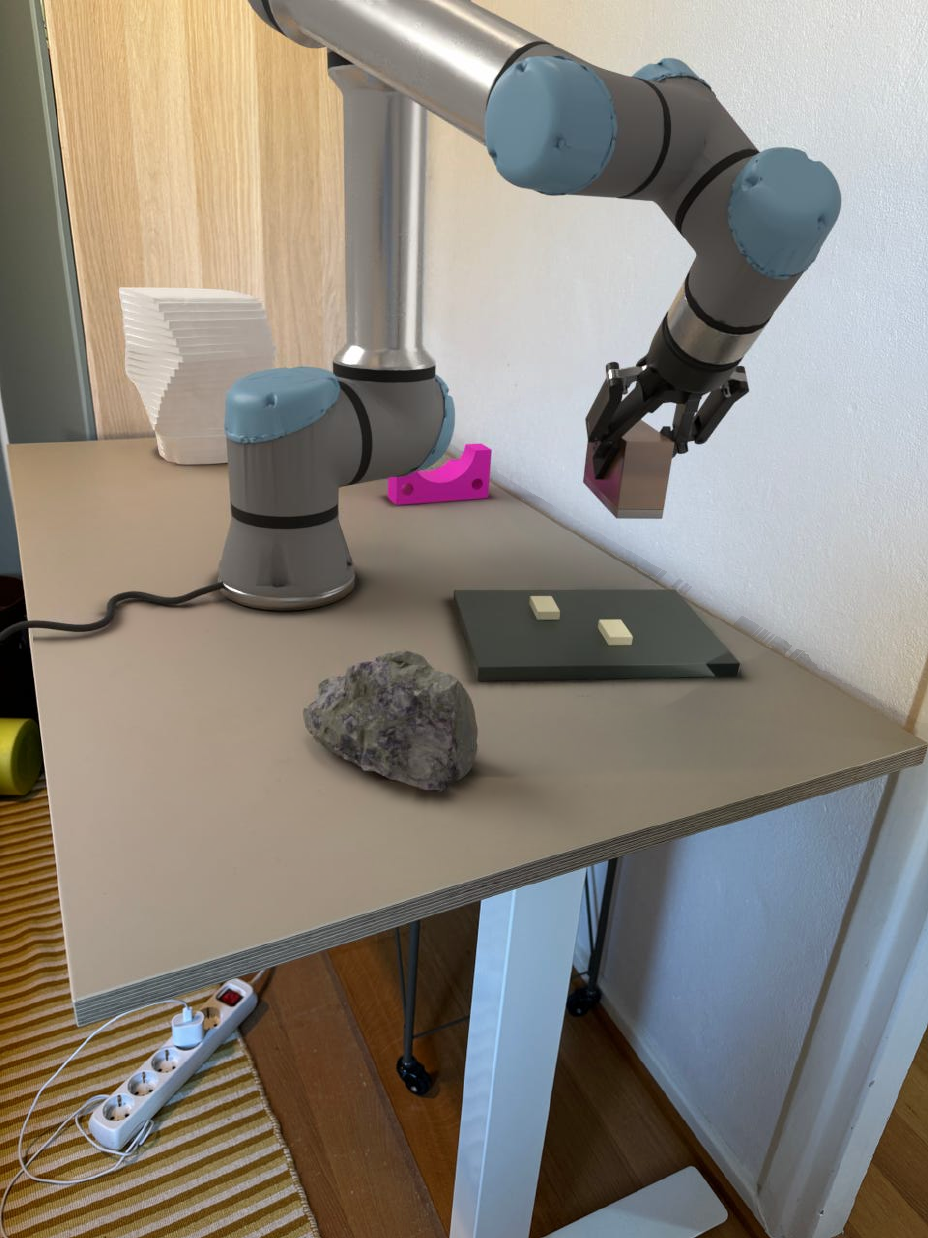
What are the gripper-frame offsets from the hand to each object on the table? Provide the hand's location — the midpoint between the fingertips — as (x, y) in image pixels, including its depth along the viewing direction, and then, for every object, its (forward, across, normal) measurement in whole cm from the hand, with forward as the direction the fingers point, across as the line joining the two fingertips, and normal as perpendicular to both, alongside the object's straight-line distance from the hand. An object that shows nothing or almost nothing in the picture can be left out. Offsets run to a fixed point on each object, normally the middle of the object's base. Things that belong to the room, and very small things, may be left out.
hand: (622, 468), depth 95 cm
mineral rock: (-10, +27, +33) cm, 43 cm away
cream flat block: (+1, +3, +19) cm, 19 cm away
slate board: (+4, +5, +18) cm, 19 cm away
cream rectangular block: (+5, +9, +15) cm, 18 cm away
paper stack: (+52, +49, -31) cm, 78 cm away
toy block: (+38, +16, -16) cm, 44 cm away
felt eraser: (+2, 0, +3) cm, 3 cm away
